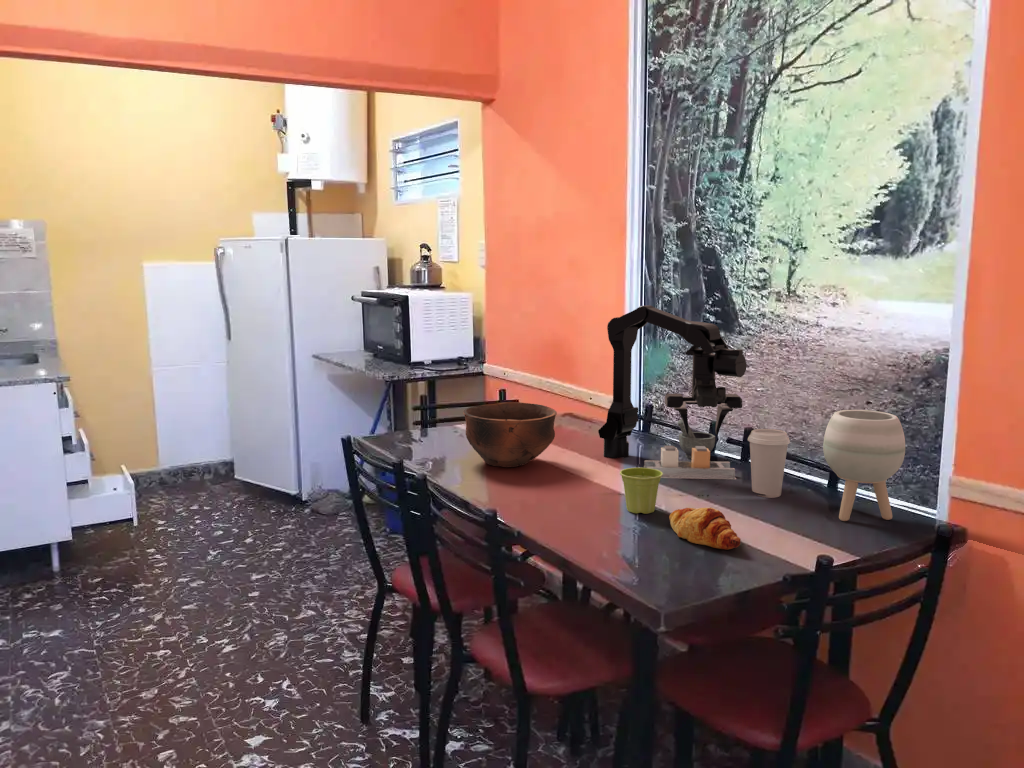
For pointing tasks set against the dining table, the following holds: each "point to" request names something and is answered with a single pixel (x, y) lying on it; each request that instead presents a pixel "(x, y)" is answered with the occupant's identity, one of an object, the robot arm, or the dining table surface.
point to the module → (700, 457)
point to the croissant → (704, 527)
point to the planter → (864, 453)
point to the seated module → (669, 456)
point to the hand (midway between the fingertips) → (701, 433)
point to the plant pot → (641, 488)
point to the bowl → (509, 431)
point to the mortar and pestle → (694, 440)
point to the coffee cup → (768, 461)
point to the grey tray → (693, 470)
